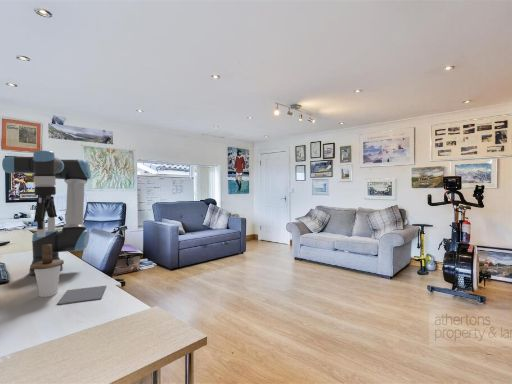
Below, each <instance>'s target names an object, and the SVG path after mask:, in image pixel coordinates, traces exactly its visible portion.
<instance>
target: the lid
mask: <svg viewBox="0 0 512 384" xmlns="http://www.w3.org/2000/svg"><path fill="white" fill-rule="evenodd" d="M64 261H65V260H64V259H61V258H60V259H55V260H52V244H46V245H42V261H40V262H36V263H33V264H32V263H31V264H30V265H29V266H30V267H29V269H30V268H31V269H47V268H53V267H57V266H60V265H64Z"/></svg>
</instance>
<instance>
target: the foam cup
mask: <svg viewBox="0 0 512 384" xmlns="http://www.w3.org/2000/svg"><path fill="white" fill-rule="evenodd" d="M60 269H61V268H60V266H57V267H53V268H47V269H34V272H35V275H34V276H35V279H36V284H37V289H38V294H39V297H41V298H46V297H52V296H55V295H56V294H58V288H59V280H60V273H61V271H60Z"/></svg>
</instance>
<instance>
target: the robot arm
mask: <svg viewBox="0 0 512 384" xmlns="http://www.w3.org/2000/svg"><path fill="white" fill-rule="evenodd" d="M32 154H33V156H14V155H13V156H5V157H4V158H3V159H2V163H1V168H2V170H3V171H4V172H5V173H6V174H27V175H28V174H29V175H33V176H34V177H33V178H32V181H33V183H34V186H35V187H34V195H35V196H39V197H37V198H36V204H35V205H36V206H35V213H34V219H33V222H34V223H36V232H34V233H33V234H32V237H31V238H32V241H31V243H32V246H31V247H32V262H31V264H33V263H36V262H40V261H42V245H46V244H52V260H55V259H60V260H61V257H60V256H59V255H60V254H59V253H63V252H65V253H66V252H67V253H68V252H77V251H78V252H79V251H84V250H85V249H86V248H87V247H88V244H89V240H90V230H89V229H87V226H85V225H84V207H85V206H84V202H85V200H84V199H85V185H86V184H87V183H88V180H90V179H91V176H92V173H91V167H90V164H89V162H88V161H87V160H84V159H60V158H58V157H56V156H55V152H54V151H51V150H35V151H34V152H33V153H32ZM56 180H64V182H65V184H66V187H67V188H66V209H65V210H66V212H65V225H64V226H63V227H62V230H59V229H58V228H56V218H58V215H57V210H56V206H55V197H54V196H55V195H56V193H57V192H56V191H57V190H56ZM46 214H47V216H48V217H47V229H46V221H45V217H46ZM63 265H64V264H62V265H60V268H61V269H60V272H61V271H63V268H64V266H63ZM28 273H29V275H30V276H36V275H35V272H34V269H31V268H30V267H29V270H28Z"/></svg>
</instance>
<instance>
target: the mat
mask: <svg viewBox="0 0 512 384" xmlns="http://www.w3.org/2000/svg"><path fill="white" fill-rule="evenodd" d="M106 289H107V285H99V286H91V287H82V288H74V289H67V290H66V291H65V293H64V294H63V295H62V296H61V297H60V298H59V300H58V301H57V303H56V306H59V305H68V304H75V303H83V302H90V301H98V300H102V298H103V296H104V293H105V291H106Z"/></svg>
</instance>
